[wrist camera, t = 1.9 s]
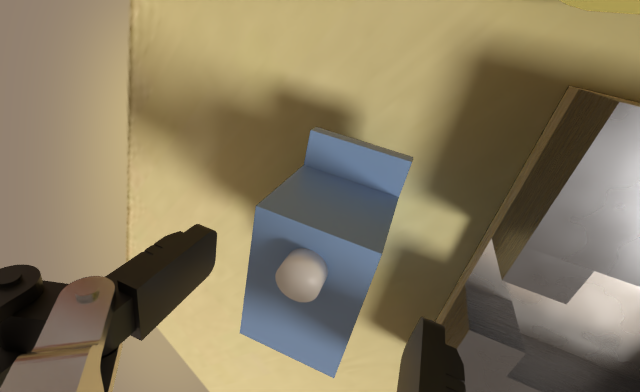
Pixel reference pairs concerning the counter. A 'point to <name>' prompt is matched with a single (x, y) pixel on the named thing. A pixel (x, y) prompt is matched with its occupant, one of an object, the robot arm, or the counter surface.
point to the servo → (320, 248)
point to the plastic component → (607, 5)
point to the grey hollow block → (559, 263)
